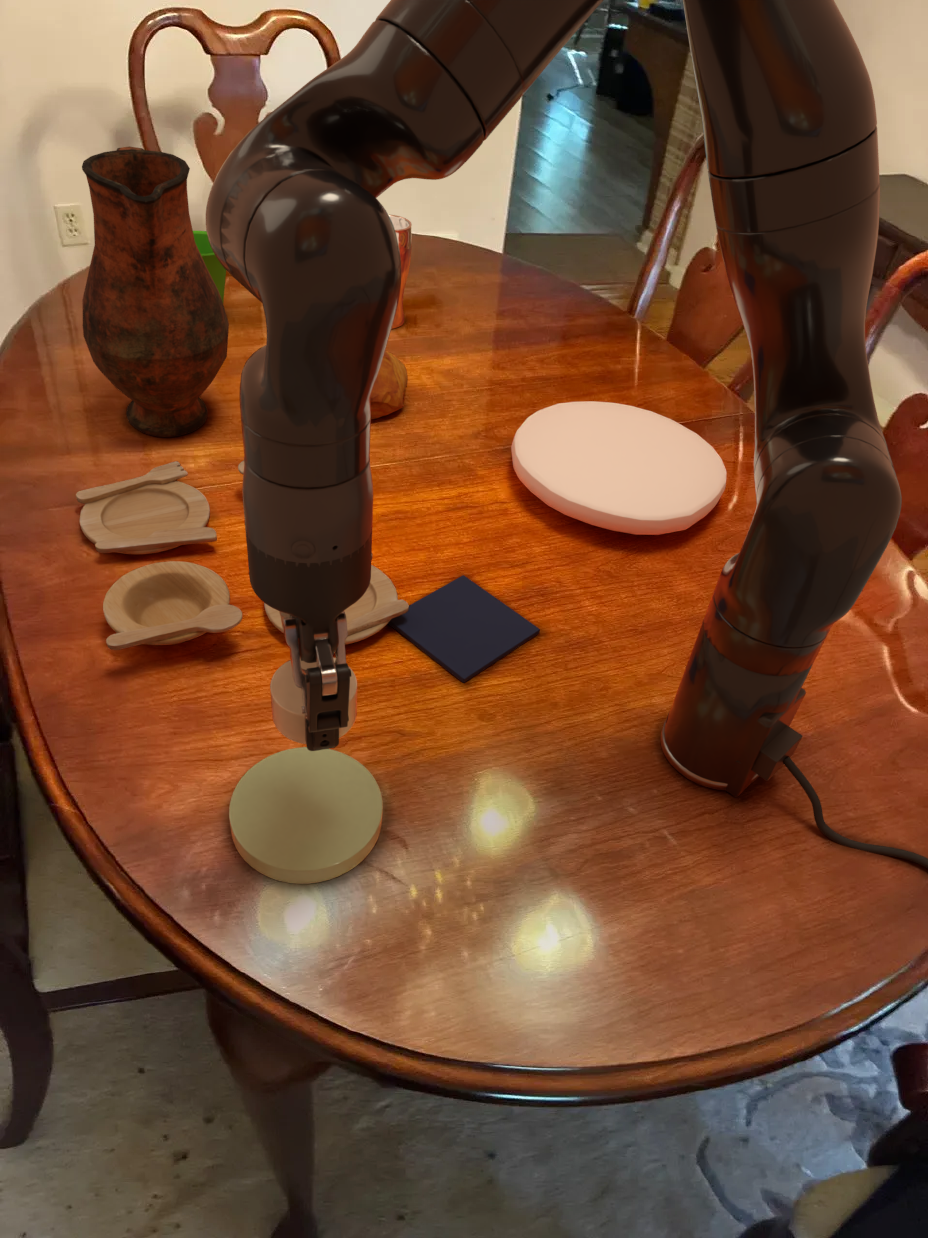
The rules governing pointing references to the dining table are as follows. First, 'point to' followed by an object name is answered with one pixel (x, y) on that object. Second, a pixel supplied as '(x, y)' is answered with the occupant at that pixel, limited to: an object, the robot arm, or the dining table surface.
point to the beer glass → (402, 260)
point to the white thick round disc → (618, 467)
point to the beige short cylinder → (300, 703)
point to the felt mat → (463, 628)
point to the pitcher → (151, 292)
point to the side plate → (305, 815)
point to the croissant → (388, 387)
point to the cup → (211, 261)
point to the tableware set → (185, 566)
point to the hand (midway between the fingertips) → (314, 710)
